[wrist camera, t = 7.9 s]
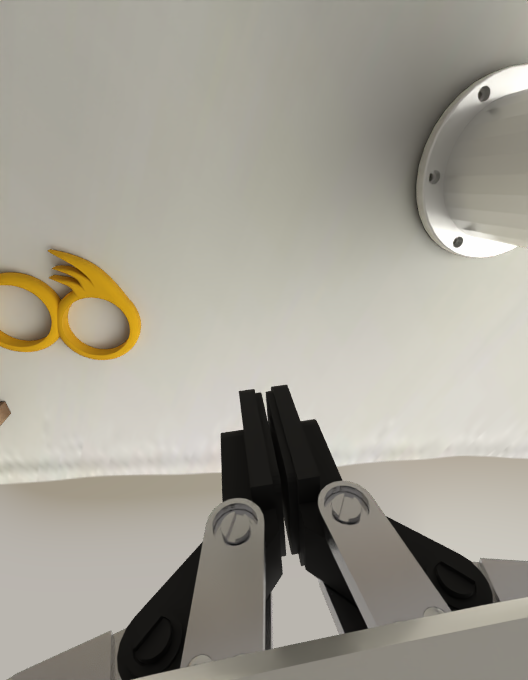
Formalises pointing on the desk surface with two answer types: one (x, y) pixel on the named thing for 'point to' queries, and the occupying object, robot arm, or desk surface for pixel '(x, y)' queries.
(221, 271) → the desk surface
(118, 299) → the yellow triple ring ornament
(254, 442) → the robot arm
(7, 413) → the display stand
